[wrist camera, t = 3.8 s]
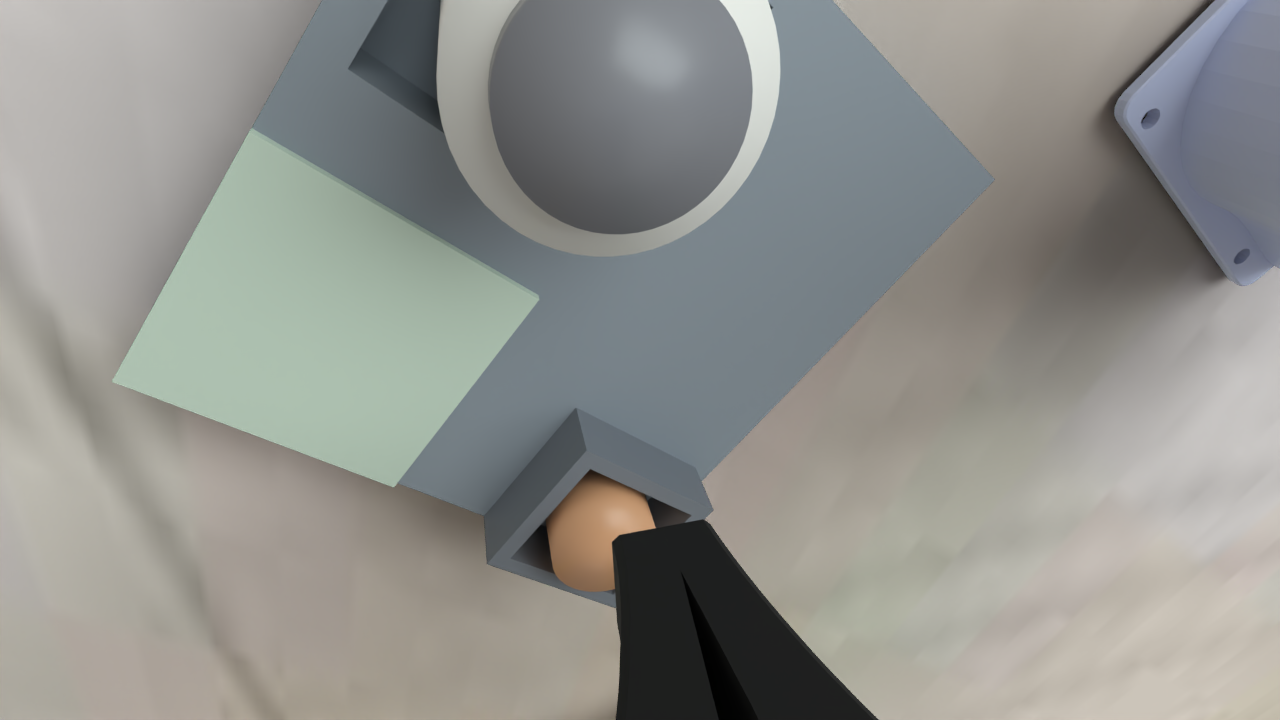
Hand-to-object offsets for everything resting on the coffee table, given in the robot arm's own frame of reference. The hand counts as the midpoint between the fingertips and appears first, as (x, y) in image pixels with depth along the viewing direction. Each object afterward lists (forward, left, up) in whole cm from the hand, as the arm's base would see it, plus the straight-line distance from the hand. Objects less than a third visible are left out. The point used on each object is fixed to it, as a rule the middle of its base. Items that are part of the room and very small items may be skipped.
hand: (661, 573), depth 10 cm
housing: (+1, -1, -9) cm, 10 cm away
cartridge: (+4, -5, -9) cm, 11 cm away
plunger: (-3, +4, -7) cm, 8 cm away
